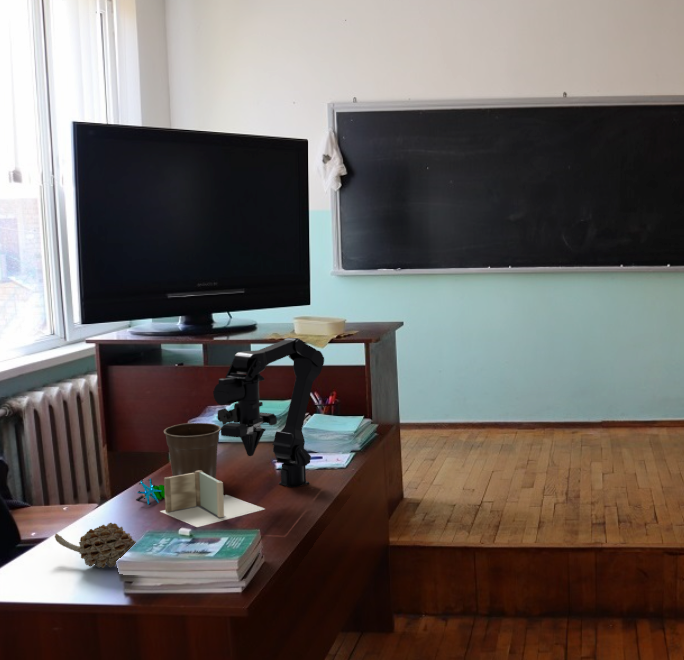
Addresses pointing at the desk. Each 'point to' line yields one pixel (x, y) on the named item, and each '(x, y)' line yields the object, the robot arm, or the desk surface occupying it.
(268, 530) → the desk surface
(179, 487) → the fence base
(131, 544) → the pine cone
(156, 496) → the stick construction toy
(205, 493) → the sage fence panel
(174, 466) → the plant pot
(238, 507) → the card
